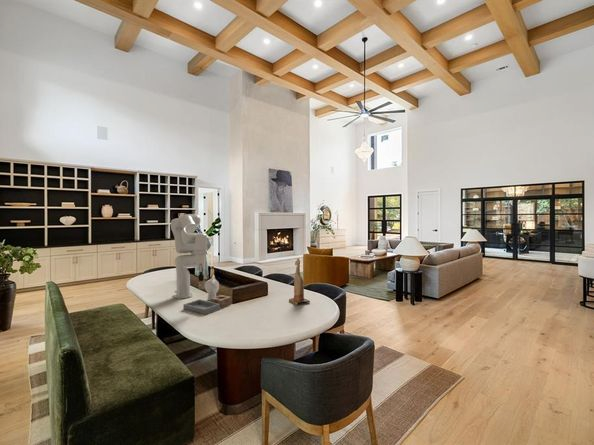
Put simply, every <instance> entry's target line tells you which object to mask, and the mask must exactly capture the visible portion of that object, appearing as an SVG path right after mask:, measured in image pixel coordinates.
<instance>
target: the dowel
mask: <svg viewBox="0 0 594 445" xmlns="http://www.w3.org/2000/svg"><path fill="white" fill-rule="evenodd" d="M202 270H203V269H202ZM203 275H204V276H205V269H204V270H203ZM198 290H206V289H205V280H204V281H199V280H198Z"/></svg>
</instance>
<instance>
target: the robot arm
mask: <svg viewBox="0 0 594 445" xmlns="http://www.w3.org/2000/svg"><path fill="white" fill-rule="evenodd" d="M200 224H201V217H200V216H199V214H195V213H190V214H189V213H188V214H187V213H186V214H181V215H180V217H177V218H174V219H171V221H170V229H171V231H172V234H173V237H174V247H175V251H176V253H177V254H180V255H178V256H176V257H175V259H174V265H175V270H176V271H175V272H176V274H175V276H176V277H175V278H176V279H175V280H176V290H175V291H174V293H175V294H174V298H175V299H179V300H181V299H188V298H189V299H190V298H191V297H193V293H191V274H190V271H189V270H188V269H187V268H191V267H195V268H196V269H195V270H196V271H198V282H199V281H204V282H205V274H204V275H203V270H204V271H205V269H206V256H207V255H208V235H207V234H206V233H204V232H195V231H196V230H197V227H198V226H199V225H200ZM181 254H182V255H181ZM202 269H203V270H202Z"/></svg>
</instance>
